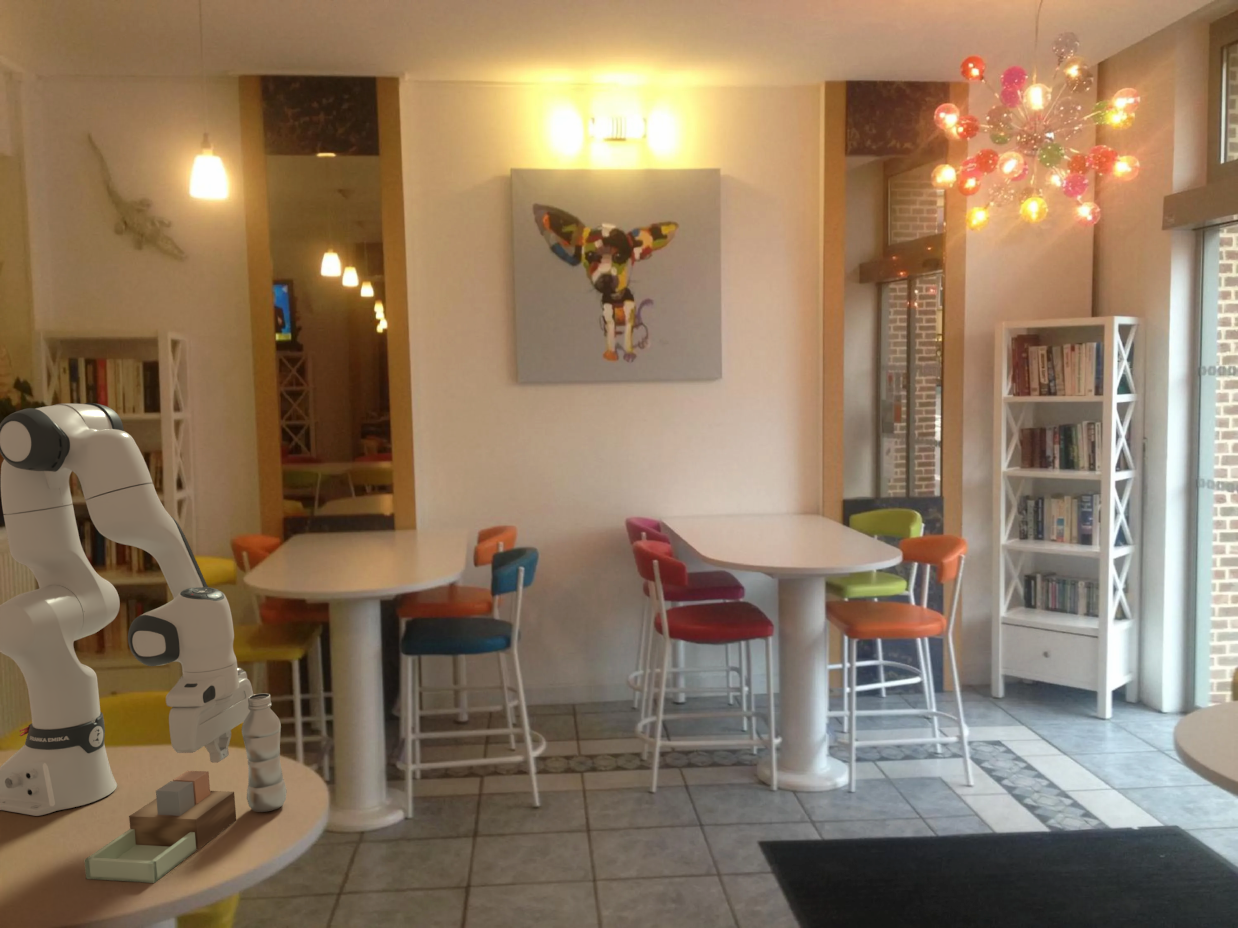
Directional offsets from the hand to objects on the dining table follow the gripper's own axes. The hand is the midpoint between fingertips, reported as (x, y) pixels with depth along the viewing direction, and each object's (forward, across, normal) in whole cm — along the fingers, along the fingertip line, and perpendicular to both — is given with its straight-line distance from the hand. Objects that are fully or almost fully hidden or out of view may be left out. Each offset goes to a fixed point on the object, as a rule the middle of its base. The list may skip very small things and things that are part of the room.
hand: (219, 759), depth 184 cm
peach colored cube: (+4, +7, -1) cm, 8 cm away
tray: (+9, +21, -1) cm, 22 cm away
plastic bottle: (+9, -1, +8) cm, 12 cm away
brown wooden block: (+9, +9, -2) cm, 13 cm away
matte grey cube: (+4, +12, -1) cm, 13 cm away
